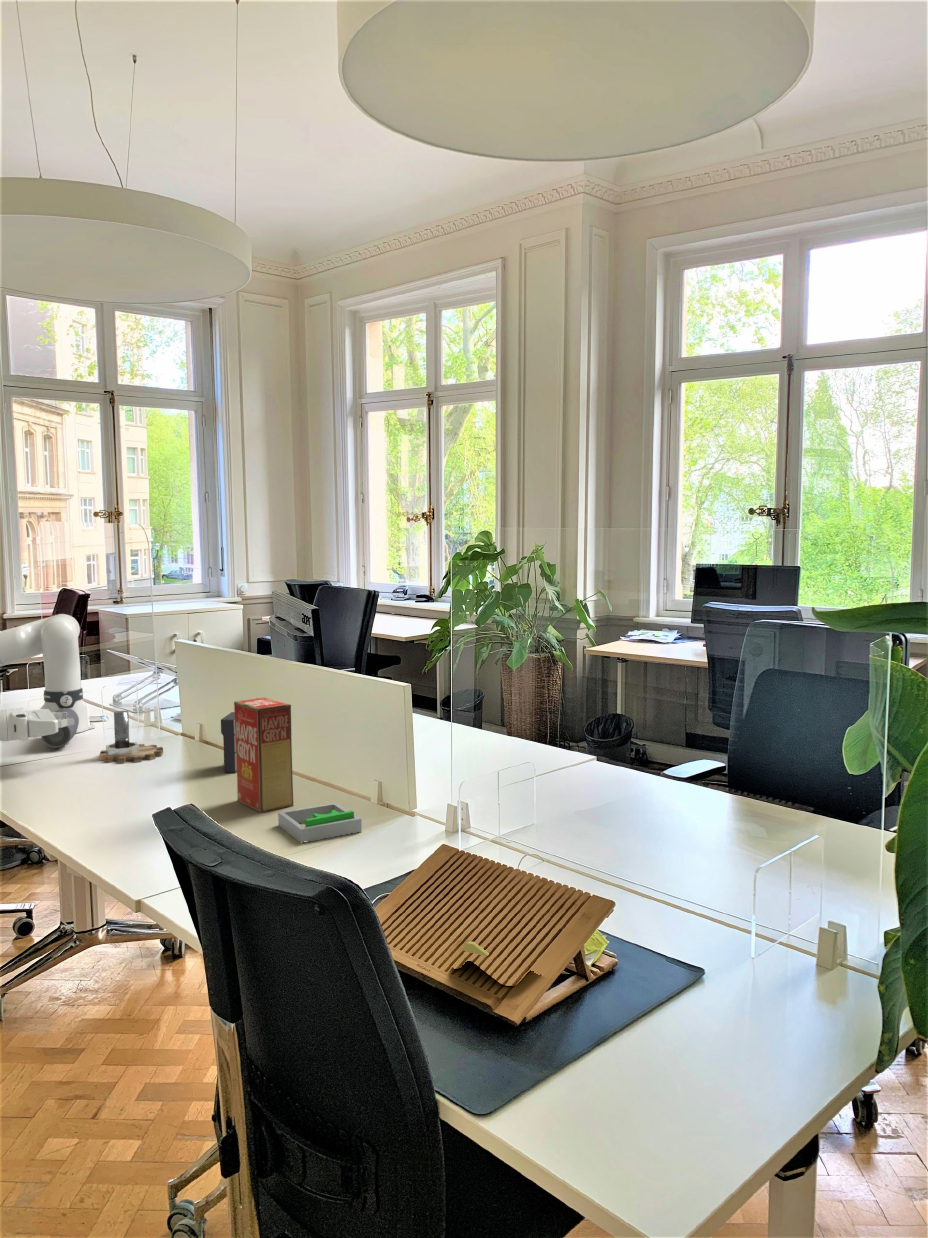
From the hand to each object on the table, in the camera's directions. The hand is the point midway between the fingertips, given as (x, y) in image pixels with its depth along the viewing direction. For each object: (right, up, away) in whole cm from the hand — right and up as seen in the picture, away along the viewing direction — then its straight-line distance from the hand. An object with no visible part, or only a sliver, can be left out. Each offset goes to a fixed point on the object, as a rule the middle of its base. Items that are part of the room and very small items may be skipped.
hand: (71, 718), depth 256 cm
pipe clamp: (+83, -19, -60) cm, 104 cm away
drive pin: (+11, -11, +8) cm, 18 cm away
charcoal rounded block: (+48, -14, -4) cm, 50 cm away
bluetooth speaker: (-14, -11, +26) cm, 32 cm away
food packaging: (+64, -17, -38) cm, 76 cm away
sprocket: (+14, -12, +10) cm, 21 cm away
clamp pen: (+80, -18, -57) cm, 100 cm away
